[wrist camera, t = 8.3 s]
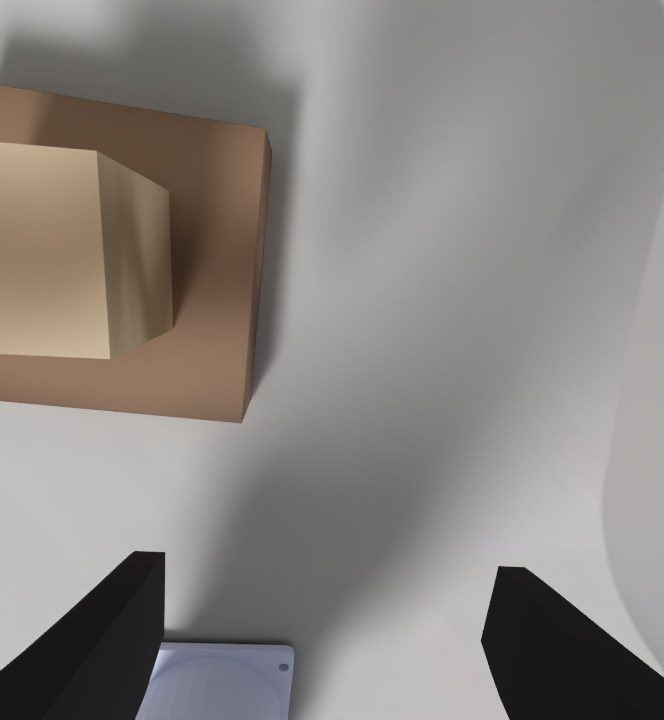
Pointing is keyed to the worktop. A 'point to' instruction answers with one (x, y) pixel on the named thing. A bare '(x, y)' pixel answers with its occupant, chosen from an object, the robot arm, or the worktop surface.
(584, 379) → the worktop surface
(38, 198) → the oak cube
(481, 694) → the worktop surface
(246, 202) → the walnut block
